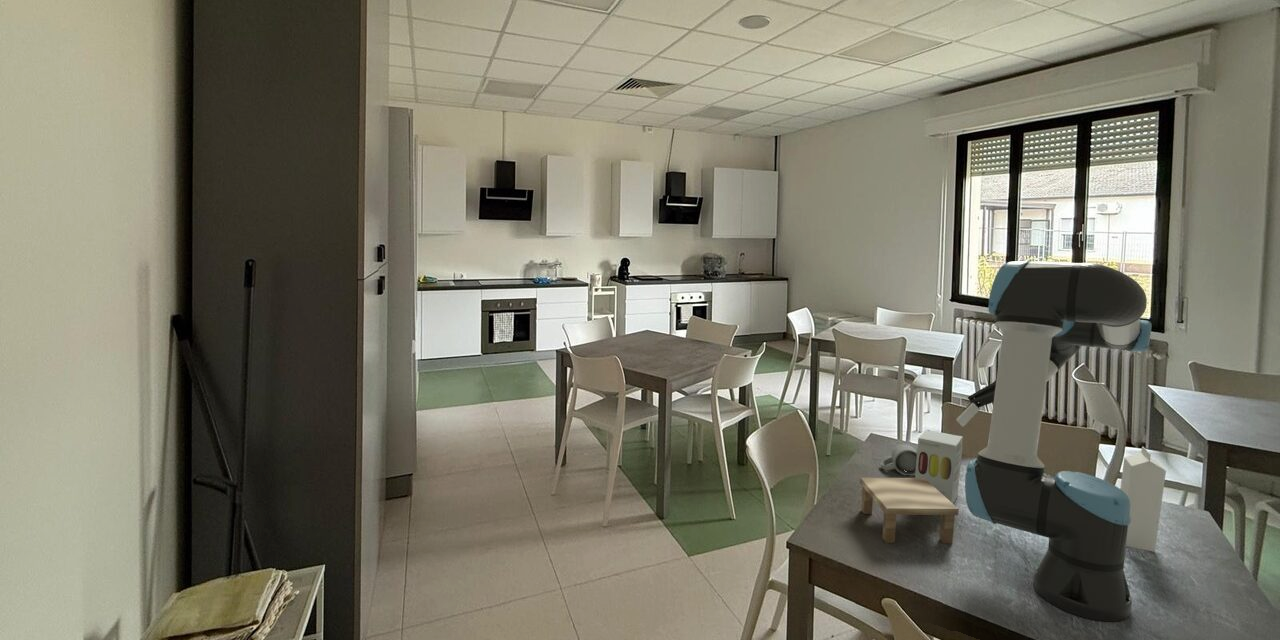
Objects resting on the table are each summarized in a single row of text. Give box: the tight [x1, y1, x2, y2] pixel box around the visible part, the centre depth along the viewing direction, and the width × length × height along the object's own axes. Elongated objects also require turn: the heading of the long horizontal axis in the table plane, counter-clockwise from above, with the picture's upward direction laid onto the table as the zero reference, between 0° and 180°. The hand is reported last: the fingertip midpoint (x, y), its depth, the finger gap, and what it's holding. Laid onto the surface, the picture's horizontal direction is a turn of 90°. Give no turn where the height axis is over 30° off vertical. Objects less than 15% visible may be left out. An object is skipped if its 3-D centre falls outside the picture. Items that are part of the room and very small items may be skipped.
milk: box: [1120, 446, 1167, 553], centre depth 134 cm, size 6×6×22 cm
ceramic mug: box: [880, 443, 917, 477], centre depth 177 cm, size 11×8×8 cm
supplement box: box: [914, 429, 964, 504], centre depth 158 cm, size 10×9×17 cm
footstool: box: [859, 477, 960, 544], centre depth 143 cm, size 17×16×8 cm
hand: (976, 431), depth 159 cm, fingers open, 13 cm apart
